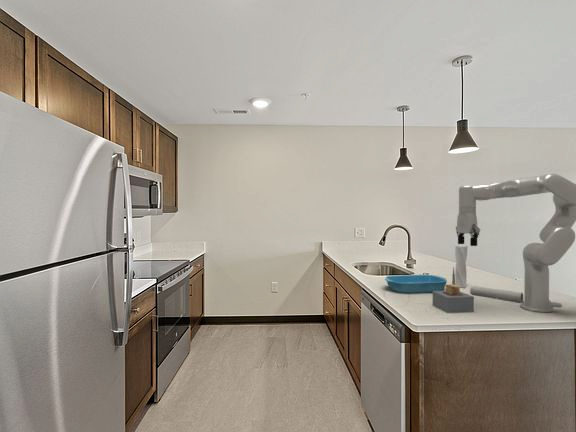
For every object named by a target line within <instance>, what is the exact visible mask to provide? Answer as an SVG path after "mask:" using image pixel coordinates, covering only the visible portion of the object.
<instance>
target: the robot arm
mask: <svg viewBox="0 0 576 432" xmlns="http://www.w3.org/2000/svg"><path fill="white" fill-rule="evenodd" d="M547 193H552V194H553V195H552V201H553V204H554V206H555V211H554V214H553V215H552V217H551V218H550V219H549V221H548V222H547V223H546V224H545V225H544V227H543V228H542V229H541V230H540V232H539V239H540V241H541V242H543V243H539V242H531V243H528V244H527V245H525V247H524V248H523V250H522V259H523V265H524V267H523V268H524V286H523V287H524V290H523V291H524V293H523V302H522V303H520V308H521V309H524V310H527V311H531V312H538V313H539V312H540V313H552V312H554V308H562V307H563V304H562V303H561V302H560V303H559V302H555V301H551V300H550V269H549V266H553V265H555V264H557V263H558V262H559V261H560V260H561V259H562V258H563V257H564V256H565V254H566V253H567V251H568V250H569V249H571V247H572V246H573V244H574V243H575V240H576V233H575V231H574V229H573V228H572V227H573V226H574V224H575V223H576V183H574V182H573V181H571V180H569V179H568V178H565V177H563V176H562V175H560V174H556V173H549V174H544V175H543V174H542V175H536V176H530V177H521V178H516V179H510V180H507V181H501V182H498V183H491V184H483V185H482V184H481V185H462V186H460V187H459V188H458V213H457V217H456V218H457V219H456V227H455V231H456V236H457V244H458V245H465V236H464V235H466V234H469V235H470V242H469V243H470V247H477V246H478V238H479V235H480V232H481V229H480V228H479V226H478V218H477V201H488V200H496V199H502V198H503V199H504V198H516V197H517V198H519V197H524V196H530V195H533V196H534V195H539V194H547Z"/></svg>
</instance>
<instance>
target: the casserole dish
mask: <svg viewBox="0 0 576 432" xmlns="http://www.w3.org/2000/svg"><path fill="white" fill-rule="evenodd" d="M384 280H385V281H386V283H387V285H388V287H389V288H390V289H391V290H393V291H395V292H396V291H397V292H396V293H401V294H419V293H420V294H423V293H433V291H444V290H445V289H446V285H447V282H448V281H447V278H446V277H444V276H439V275H434V274H406V275H405V274H403V275H386V277H385V278H384Z"/></svg>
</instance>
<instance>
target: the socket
mask: <svg viewBox="0 0 576 432" xmlns="http://www.w3.org/2000/svg"><path fill="white" fill-rule="evenodd" d="M432 306H433V307H436V308H437V309H440V310H441V311H444V312H446V313H448V314H449V313H450V314H451V313H452V314H453V313H471V312H472V313H473V312H474V311H475V297H474V295H472V294H471V295H470V294H469V293H465V292H463V291H460V296H449V295H447V294H446V290H442V291H433V292H432Z"/></svg>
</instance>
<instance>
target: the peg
mask: <svg viewBox="0 0 576 432" xmlns="http://www.w3.org/2000/svg"><path fill="white" fill-rule="evenodd" d="M460 289H461V288H460V287H459V286H457V285H452V284H446V286H445V291H446V294H447V295H449V296H460V292H461V291H460Z"/></svg>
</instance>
